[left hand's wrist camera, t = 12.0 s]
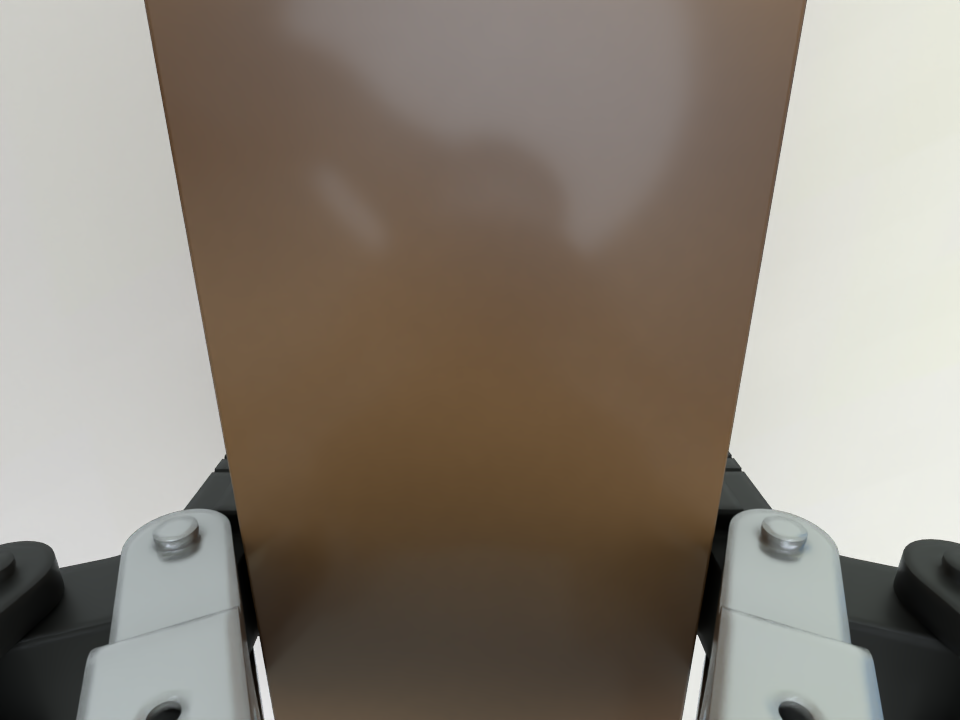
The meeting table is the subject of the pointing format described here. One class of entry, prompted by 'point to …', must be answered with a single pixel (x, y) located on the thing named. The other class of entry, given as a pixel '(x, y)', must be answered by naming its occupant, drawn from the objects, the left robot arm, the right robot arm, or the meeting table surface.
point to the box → (476, 331)
